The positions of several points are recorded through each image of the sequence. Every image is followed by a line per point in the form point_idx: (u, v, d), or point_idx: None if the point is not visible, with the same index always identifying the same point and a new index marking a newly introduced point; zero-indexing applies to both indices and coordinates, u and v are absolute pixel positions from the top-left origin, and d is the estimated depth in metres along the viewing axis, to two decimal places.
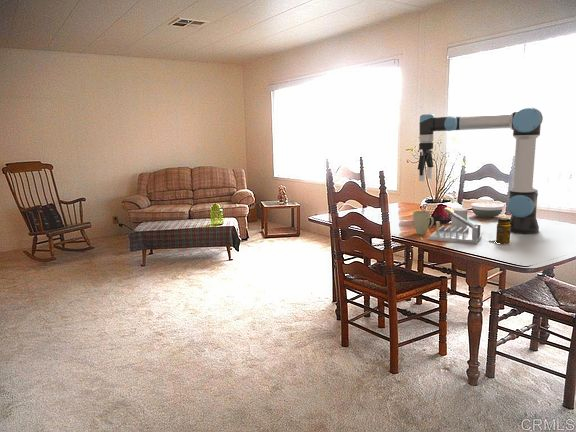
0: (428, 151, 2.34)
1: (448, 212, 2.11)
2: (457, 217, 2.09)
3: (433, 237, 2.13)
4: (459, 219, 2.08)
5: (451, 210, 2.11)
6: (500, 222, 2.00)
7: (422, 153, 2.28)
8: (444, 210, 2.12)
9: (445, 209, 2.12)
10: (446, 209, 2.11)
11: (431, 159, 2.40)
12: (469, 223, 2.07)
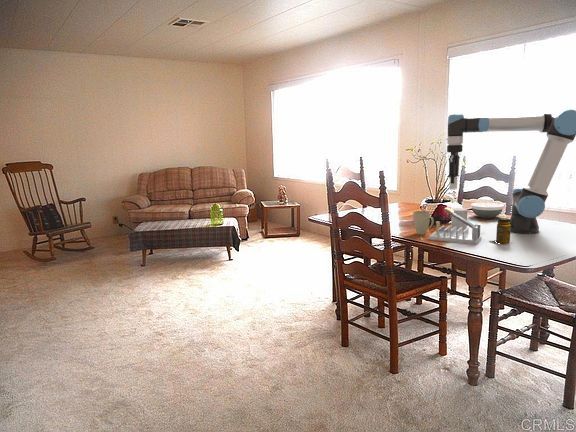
0: (457, 154, 2.17)
1: (448, 212, 2.11)
2: (457, 217, 2.09)
3: (433, 237, 2.13)
4: (459, 219, 2.08)
5: (451, 210, 2.11)
6: (500, 222, 2.00)
7: (451, 160, 2.12)
8: (444, 210, 2.12)
9: (445, 209, 2.12)
10: (446, 209, 2.11)
11: (458, 166, 2.21)
12: (469, 223, 2.07)
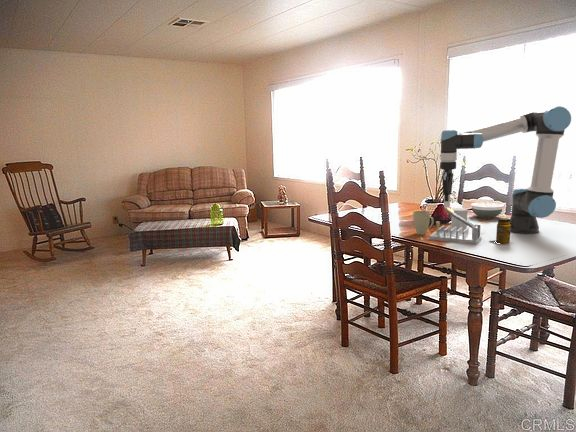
0: (450, 171, 2.09)
1: (448, 212, 2.11)
2: (457, 217, 2.09)
3: (433, 237, 2.13)
4: (459, 219, 2.08)
5: (451, 210, 2.11)
6: (500, 222, 2.00)
7: (444, 178, 2.04)
8: (444, 210, 2.12)
9: (445, 209, 2.12)
10: (446, 209, 2.11)
11: (451, 183, 2.12)
12: (469, 223, 2.07)
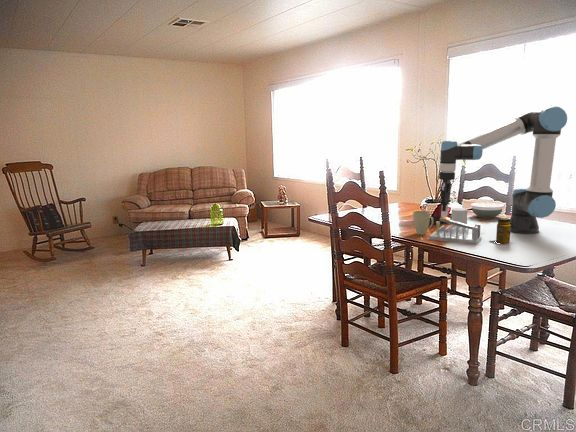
0: (449, 181, 2.10)
1: (444, 221, 2.13)
2: (454, 223, 2.10)
3: (433, 237, 2.13)
4: (457, 224, 2.09)
5: (447, 218, 2.13)
6: (500, 222, 2.00)
7: (443, 189, 2.06)
8: (440, 220, 2.14)
9: (440, 219, 2.14)
10: (441, 218, 2.13)
11: (449, 193, 2.14)
12: (468, 225, 2.07)
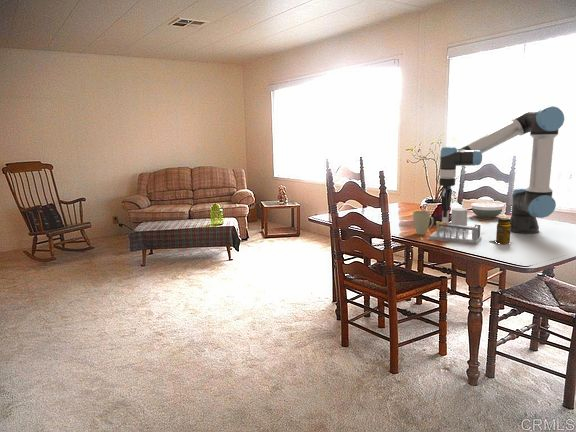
0: (449, 187, 2.11)
1: (444, 225, 2.13)
2: (454, 226, 2.11)
3: (433, 237, 2.13)
4: (456, 227, 2.10)
5: (445, 223, 2.14)
6: (500, 222, 2.00)
7: (443, 195, 2.06)
8: (439, 225, 2.15)
9: (440, 224, 2.15)
10: (440, 224, 2.14)
11: (450, 199, 2.14)
12: (467, 226, 2.08)
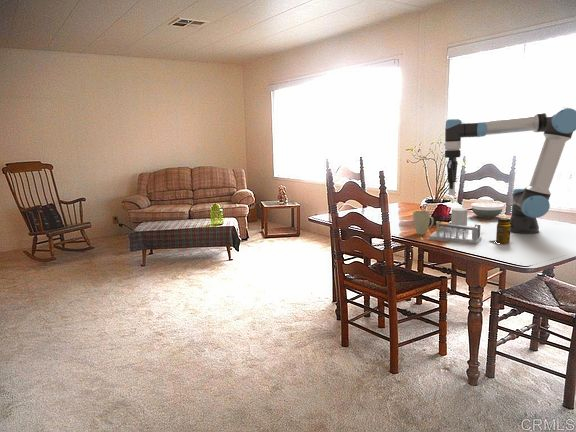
0: (455, 159, 2.14)
1: (444, 225, 2.13)
2: (454, 226, 2.11)
3: (433, 237, 2.13)
4: (456, 227, 2.10)
5: (445, 223, 2.14)
6: (500, 222, 2.00)
7: (449, 166, 2.09)
8: (439, 225, 2.15)
9: (440, 224, 2.15)
10: (440, 224, 2.14)
11: (455, 171, 2.17)
12: (467, 226, 2.08)
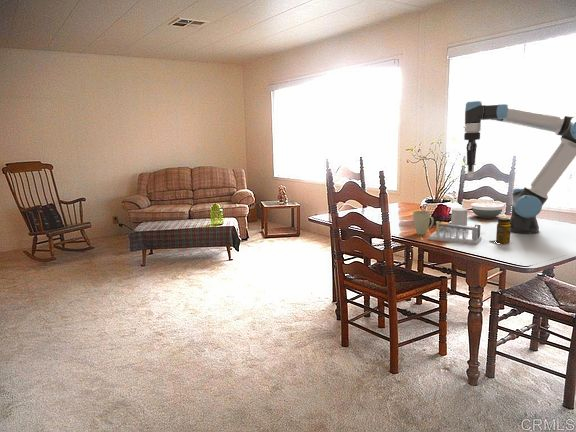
0: (474, 142, 2.15)
1: (444, 225, 2.13)
2: (454, 226, 2.11)
3: (433, 237, 2.13)
4: (456, 227, 2.10)
5: (445, 223, 2.14)
6: (500, 222, 2.00)
7: (469, 148, 2.10)
8: (439, 225, 2.15)
9: (440, 224, 2.15)
10: (440, 224, 2.14)
11: (474, 154, 2.18)
12: (467, 226, 2.08)
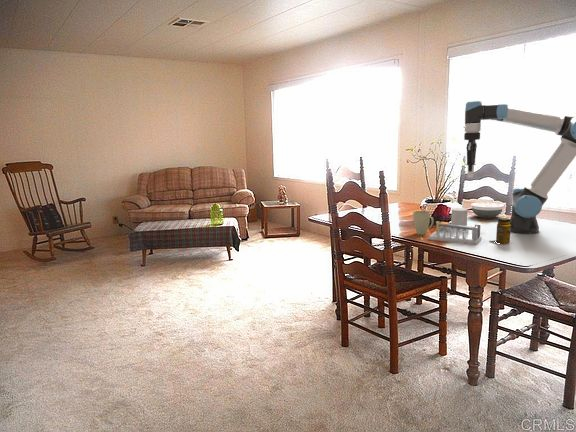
0: (474, 142, 2.15)
1: (444, 225, 2.13)
2: (454, 226, 2.11)
3: (433, 237, 2.13)
4: (456, 227, 2.10)
5: (445, 223, 2.14)
6: (500, 222, 2.00)
7: (469, 148, 2.10)
8: (439, 225, 2.15)
9: (440, 224, 2.15)
10: (440, 224, 2.14)
11: (474, 154, 2.18)
12: (467, 226, 2.08)
